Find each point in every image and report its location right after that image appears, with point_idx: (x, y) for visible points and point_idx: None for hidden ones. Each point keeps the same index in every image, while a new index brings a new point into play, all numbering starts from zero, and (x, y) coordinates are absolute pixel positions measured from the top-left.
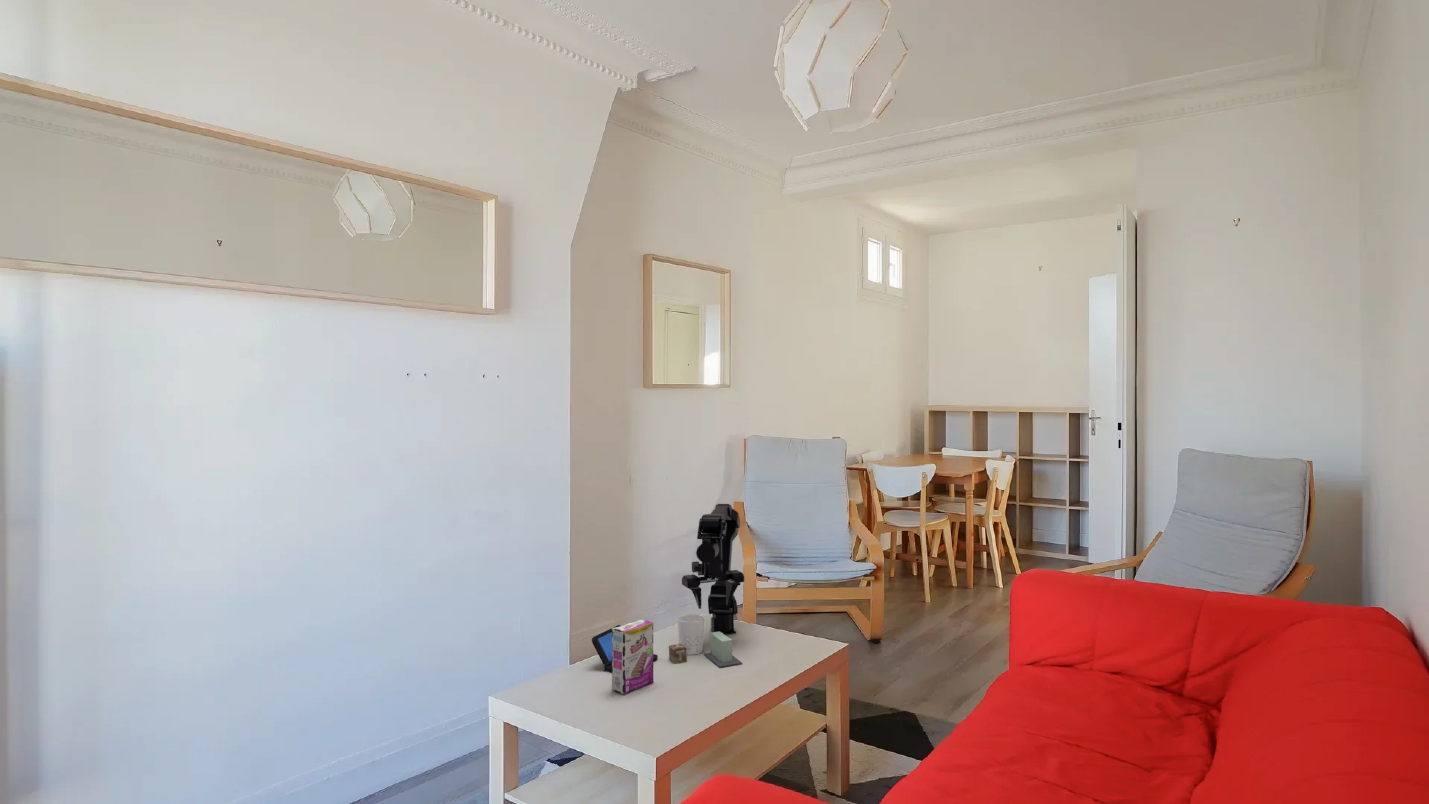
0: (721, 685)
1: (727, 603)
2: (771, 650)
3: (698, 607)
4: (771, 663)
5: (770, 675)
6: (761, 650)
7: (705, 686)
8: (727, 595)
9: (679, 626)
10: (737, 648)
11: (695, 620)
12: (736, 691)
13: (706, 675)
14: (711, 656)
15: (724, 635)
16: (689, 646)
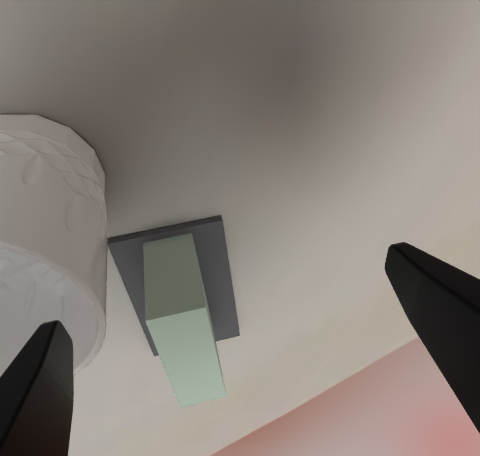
0: (137, 430)
1: (394, 284)
2: (399, 229)
3: (40, 334)
4: (327, 327)
5: (281, 387)
6: (367, 223)
7: (91, 436)
8: (461, 347)
9: None
10: (289, 181)
11: (29, 221)
12: (167, 447)
13: (100, 390)
14: (139, 279)
15: (212, 355)
16: (18, 256)
